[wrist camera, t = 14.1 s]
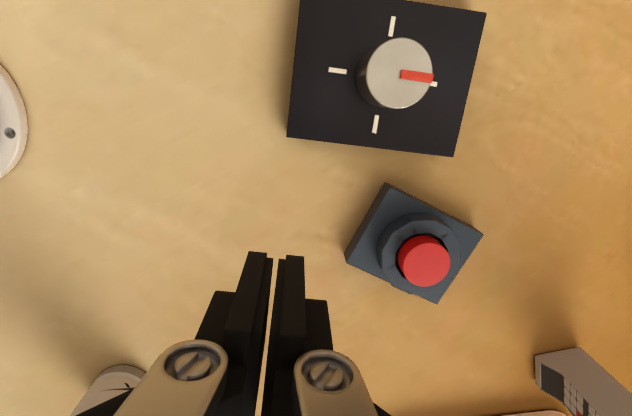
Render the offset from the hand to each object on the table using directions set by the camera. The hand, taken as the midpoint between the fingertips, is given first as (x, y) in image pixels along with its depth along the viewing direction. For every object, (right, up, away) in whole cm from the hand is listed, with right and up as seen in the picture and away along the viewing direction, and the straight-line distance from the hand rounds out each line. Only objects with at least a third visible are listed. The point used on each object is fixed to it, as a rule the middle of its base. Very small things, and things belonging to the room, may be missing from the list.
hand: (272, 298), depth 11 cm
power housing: (+10, 0, +25) cm, 27 cm away
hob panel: (+6, +14, +20) cm, 25 cm away
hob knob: (+7, +13, +18) cm, 23 cm away
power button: (+10, -1, +21) cm, 24 cm away
